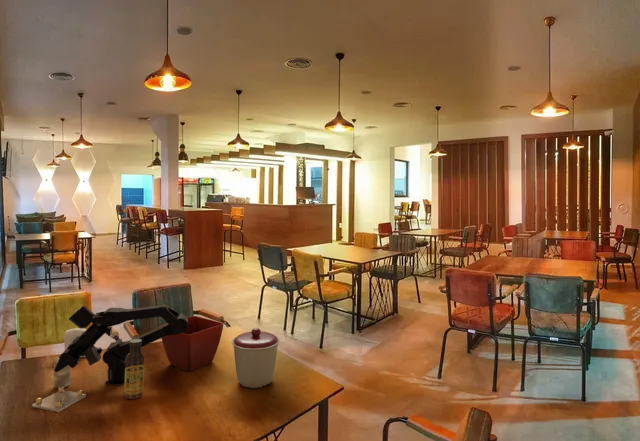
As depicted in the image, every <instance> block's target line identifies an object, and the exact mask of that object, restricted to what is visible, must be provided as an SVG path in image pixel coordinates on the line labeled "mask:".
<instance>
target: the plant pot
mask: <svg viewBox="0 0 640 441" xmlns="http://www.w3.org/2000/svg"><path fill="white" fill-rule="evenodd" d="M187 318H188V327H187V329H186V330H185V331H184V332H182V333H179V334H176V335H168V336H165V337H163V338H161V342H162V346H163V349H164V352H165V354H166V356H167V359H168V362H169V364H170V365H172V366H173V367H176V368H179V369H182V370H185V371H187V372H191V371H194V370H197V369H199V368H200V367H201V368H202V367H204V366H206V365H208V364H211V363H212V362H213V360H214V359H215V356H216V353H217V350H218V347H219V344H220V342H221V337H222V334H223V330H224V323H223V322H220V321H217V320H213V319H209V318H205V317H201V316H197V315H192V316H188V317H187ZM164 324H165V323H163V324H161V325H159V327H160V326H163V325H164Z"/></svg>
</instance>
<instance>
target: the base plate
mask: <svg viewBox="0 0 640 441" xmlns="http://www.w3.org/2000/svg"><path fill="white" fill-rule="evenodd" d="M57 389H58V391H56V392H54V393H52V394H50V395H48V396H47V397H44V398H42V397H36V398H35V402H34V403H32V404H31V405H32V408H36V409H37V408H38V409H41V410H47V411H52V412H56V413H60V412H61V411H63V410H65V409H67V408H68V407H70V406H72V405H73V404H75V403H77V402H79V401H81V400H83V399H84V398H86V397H87V393H84V390H83V389H78V390H77V391H70V390H65V387H63V386H61V387H59V388H57Z"/></svg>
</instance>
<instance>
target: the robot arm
mask: <svg viewBox="0 0 640 441" xmlns="http://www.w3.org/2000/svg"><path fill="white" fill-rule="evenodd" d="M159 317H160V318H162V319H163V320H164V322H166V323H163V324H164V325H163V324H162V325H163V326H160V325H159V326H158V327H156V328H154V329H152V330H149V331H148V332H145V333H142V334H141V335H139V336H136V337H134V338H132V339H129V340H126V341H125V340H124V341H123V339H122V338H119V339H118V340H116V341H112V342H110V344H109V345H108V346H107V348H106V350H105V351H104V350H103V349H102V347H101V346H99V347H97V346H95V345H96V343H97V342H98V341H99V340H100V339H101V338H102V337H103V336H104V335H105V334H106V335H107V336H108V337H110V336H111V335H112V334H113V327H114V326H117V325H120V324H124V323H125V322H129V321H136V320H143V319H151V318H159ZM68 320H69V321H70V322H71V323H73V324H74V325H75V326H76V327H77V328H80V329H81V328H82V329H86V328H87V327H88V326H89V327H88V328H87V330H86V331H85V332H83V333H82V334H81V336H77V337H76V338H75V339H74V340H73V341H72V344H70V345H69V346H68V348H67V350H65V349H64V351H63V352H62V353H61V354H60V355H59V356H58V357H59V361H58V363H57V365H56V367H55V370H54V369H53V372H54V371H55V372H58V371H60V370H61V369H63V368H64V367H66V366H68V365H69V366H70V369H71V368H72V369H74V367H76V366H77V365H78V364H79V362H80V361H81V358H85V359H86V361H87V362H88V365H89V366H92V365H94V364H96V363H98V362H99V361H101V358H102V361H103V363H105V364H106V365H107V367H108V368H107V380H105V384H110V385H111V384H112V385H117V386H119V385H122V384H125V366H126V359H127V357H128V355H129V352H130V345H129V343H130V340H133V339H141V340H142V345H141V348H142V347H146V346H147V345H149V344H151V343H153V342H156V341H158V340H160V339H162V338H163V337H165V336H168V335H176V334H179V333H182V332H184V331H185V330H186V329H187V327H188V317H187V315H185V314H183V313H179V312H178V311H176V310H175V309H173V308H171V307H170V306H168V305H167V304H164V303H163V304H160V305H152V306H143V307H136V308H123V307H109V308H107V309H106V310H105V311H104V310H103V311H99V312H96V313H94V312H93V311H91V310H90V309H89V308H88V307H87V306H86V305H83V306H82V307H80V308H79V309H78V310H75V312H74V313H73V314H72V315H71V316H70V317H69V318H68ZM91 323H92V324H91ZM90 324H91V325H90ZM103 351H104V353H103ZM102 353H103V354H102ZM101 354H102V355H101ZM84 355H85V357H83V356H84ZM79 356H82V357H79Z"/></svg>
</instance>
